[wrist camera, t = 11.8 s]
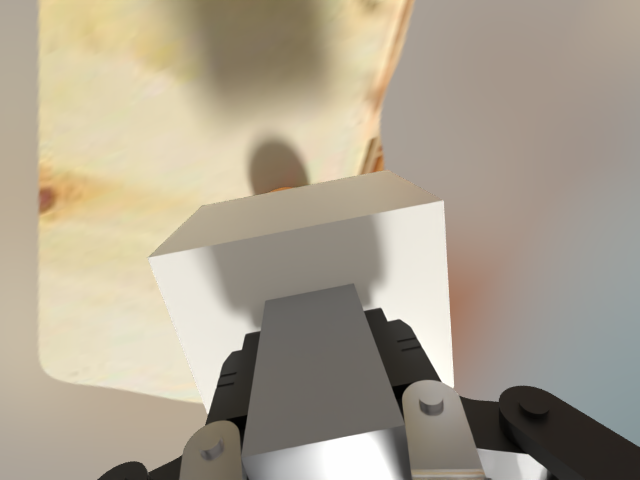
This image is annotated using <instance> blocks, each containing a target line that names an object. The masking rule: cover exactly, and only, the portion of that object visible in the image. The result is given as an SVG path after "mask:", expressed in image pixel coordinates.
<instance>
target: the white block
mask: <svg viewBox="0 0 640 480" xmlns="http://www.w3.org/2000/svg"><path fill="white" fill-rule="evenodd" d="M148 261H149V263H150V266H151V268H152V271H153V274H154V276H155V279H156V281H157V284H158V287H159V289H160V292H161V294H162V297H163V300H164V302H165V305H166V307H167V310H168V313H169V315H170V318H171V320H172V323H173V326H174V328H175V331H176V333H177V336H178V339H179V341H180V344H181V346H182V349H183V352H184V354H185V357H186V359H187V362H188V365H189V367H190V370H191V372H192V375H193V378H194V380H195V383H196V385H197V388H198V391H199V393H200V396H201V398H202V401H203V404H204V406H205V409H206V411H207V414H209V410H210V407H211V403H212V400H213V396H214V393H215V389H216V388H217V382H218V379H219V378H220V376H219V375H220V372H221V368H222V365H223V363H224V361H225V360H226V359H227V358H228V356H229V355H230V354H231V352H233V351H238V350H242V346H243V342H244V337H245V334H247V333H252V332H257V331H261V332H260V338H259V345H258V351H257V358H256V364H255V371H254V377H253V384H252V390H251V396H250V403H249V409H248V416H247V422H246V429H245V435H244V442H243V448H242V455H241V459H242V462H243V465H244V467H245V470H246V473H247V476H248V478H249V480H412V476H411V468H410V459H409V451H408V443H407V435H406V427H405V423H404V420H403V418H402V415H401V412H400V409H399V407H398V404H397V401H396V398H395V396H394V393H393V390H392V387H391V385H390V382H389V379H388V376H387V374H386V371H385V368H384V365H383V363H382V360H381V357H380V354H379V352H378V349H377V346H376V343H375V341H374V338H373V335H372V332H371V330H370V327H369V324H368V321H367V319H366V316H365V313H364V311H365V310H370V309H375V308H380V307H381V308H382V310H383V312H384V314H385V317H386V319H387V321H392V320H397V319H401V320H402V321H403V322H405V323H406V324H408V325H409V326H411V328H412V330H413V331H414V333H415V335H416V337H417V339H418V340H419V342H420V344H421V346H422V348H423V349H424V351H425V353H426V354H427V356H428V358H429V360H430V362H431V363H432V365H433V367H434V369H435V370H436V372H437V374H438V376H439V378H440V379H441V381H442V383H444V384H446V385H448V386H450V387H451V388H452V387H454V378H453V361H452V344H451V324H450V306H449V289H448V271H447V253H446V236H445V217H444V201H443V200H442V199H440V198H438V197H436V196H435V195H433V194H431V193H429V192H427V191H426V190H424V189H422V188H420V187H418V186H416V185H414V184H413V183H411V182H409V181H407V180H405V179H404V178H402V177H400V176H398V175H396V174H394V173H393V172H391V171H389V170H384V171H379V172H374V173H369V174H364V175H358V176H353V177H348V178H343V179H338V180H333V181H327V182H322V183H317V184H312V185H307V186H301V187H296V188H291V189H286V190H281V191H275V192H270V193H265V194H260V195H255V196H250V197H244V198H239V199H234V200H229V201H224V202H218V203H213V204H208V205H203V206H201V207H200V208H199V209H198V210H197V211H196V212H195V213H194V214H193V215H192V216H191V217H190V218H189V219H188V220H187V221H185V222H184V223H183V224H182V225H181V226H180V227H179V228H178V229H177V230H176V231H175V232H174V233H173V234H172V235H171V236H170V237H169V238H168V239H167V240H166V241H165V242H163V243H162V244H161V245H160V246H159V247H158V248H157V249H156V250H155V251H154V252H153V253H152V254H151V255H150V256H149V257H148Z"/></svg>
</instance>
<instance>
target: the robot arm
mask: <svg viewBox="0 0 640 480" xmlns="http://www.w3.org/2000/svg"><path fill="white" fill-rule="evenodd" d="M364 313H365V316H366V319H367V321H368V324H369V327H370V330H371V332H372V335H373V338H374V341H375V343H376V346H377V349H378V352H379V354H380V357H381V360H382V363H383V365H384V368H385V371H386V374H387V376H388V379H389V382H390V385H391V387H392V390H393V393H394V396H395V398H396V401H397V404H398V407H399V409H400V412H401V415H402V418H403V420H404V423H405V427H406V435H407V443H408V451H409V459H410V468H411V476H412V480H640V447H638V446H637V445H635V444H633V443H632V442H630V441H628V440H627V439H625V438H624V437H622V436H620V435H619V434H617V433H615V432H613V431H612V430H610V429H609V428H607V427H605V426H604V425H602V424H600V423H599V422H597V421H595V420H594V419H592V418H591V417H589V416H587V415H585V414H584V413H582V412H581V411H579V410H577V409H576V408H574V407H572V406H571V405H569V404H567V403H566V402H564V401H562V400H561V399H559V398H557V397H556V396H554V395H552V394H551V393H549V392H547V391H544V390H542V389H539V388H536V387H531V386H515V387H511V388H508V389H507V390H505V391H504V392H503V393H502V394H501V395H500V398H499V402H493V401H479V400H471V399H467V398H464V397H461V396H459V395H458V394H457V393H456V392H455V390H454V389H452V388H451V387H450V386H448V385H446V384H444V383H442V381H441V379H440V378H439V376H438V374H437V372H436V370H435V369H434V367H433V365H432V363H431V362H430V360H429V358H428V356H427V354H426V353H425V351H424V349H423V348H422V346H421V344H420V342H419V340H418V339H417V337H416V335H415V333H414V331H413V330H412V328H411V326H409V325H408V324H406V323H405V322H403V321H402V320H401V319H397V320H392V321H387V319H386V317H385V314H384V312H383V310H382V308H381V307H380V308H375V309H370V310H365V311H364ZM260 332H261V331H257V332H252V333H247V334H245V337H244V342H243V346H242V350H238V351H233V352H231V354H230V355H229V356H228V358H227V359H226V360H225V361H224V363H223V365H222V368H221V372H220V375H219V376H220V378H219V379H218V382H217V388H216V389H215V393H214V396H213V400H212V403H211V407H210V410H209V414H208V418H207V421H206V424H205V426H204V427H202V428H201V429H199V430H198V431H197V432H196V433H195V434H194V435H193V436H192V437H191V438H190V439H189V441H188V442H187V444H186V446H185V448H184V451H183V454H182V456H180V457H179V458H177V459H175V460H173V461H171V462H169V463H167V464H165V465H163V466H161V467H159V468H157V469H155V470H153V471H151V472H148V471H147V469H146V468H145V466H144V465H143V464H142V463H140V462H135V461H134V462H126V463H123V464H121V465H118V466H116V467H114V468H112V469H111V470H109V471H108V472H106V473H105V474H103V475H102V476H101V477H100V478H99V479H98V480H249V478H248V476H247V473H246V470H245V467H244V465H243V462H242V459H241V455H242V448H243V442H244V435H245V429H246V422H247V416H248V409H249V403H250V396H251V390H252V384H253V377H254V371H255V364H256V358H257V351H258V345H259V338H260Z"/></svg>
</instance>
